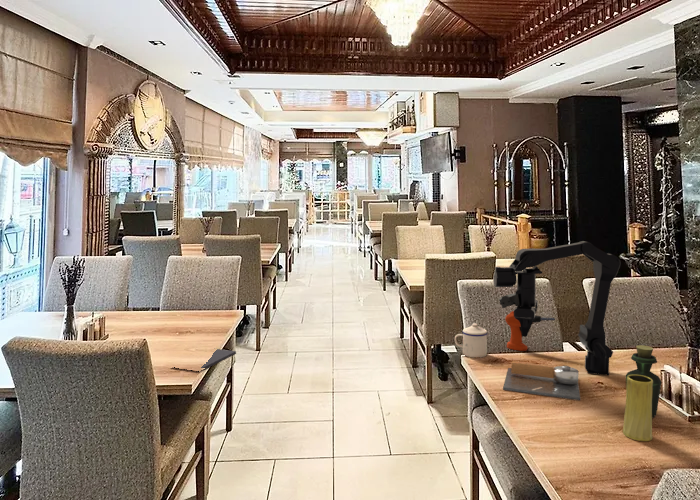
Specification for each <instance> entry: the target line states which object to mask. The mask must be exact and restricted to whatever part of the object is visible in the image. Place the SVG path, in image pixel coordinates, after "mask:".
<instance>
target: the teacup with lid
mask: <svg viewBox="0 0 700 500" xmlns="http://www.w3.org/2000/svg"><path fill="white" fill-rule="evenodd" d="M458 337H462V344H460V343H459V342H458V340H457V338H458ZM487 340H488V331H487V330H486V329H485V328H482V327H481V326H478V323H475V322H474V323H472V324H471V325H470V326H468V327H465V328H463V330H462V333H457V334H456V335H455V336H454V343H455V345H456V346H457V347H460V348H462V355H464V356H466V357H468V358H474V357H480V358H485V357H486V356H487V355H488V354H487V346H488V345H487V343H488V341H487Z"/></svg>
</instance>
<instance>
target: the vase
mask: <svg viewBox="0 0 700 500" xmlns="http://www.w3.org/2000/svg"><path fill="white" fill-rule="evenodd" d="M652 385H653V380H652V379H651V378H649V377H647V376H643V375H635V374H633V375H628V376H627V385H626V384H625V393H626V394H625V395H626V397H625V408H624V409H625V410H624V417H623V428H622V434H623V435H624V436H625V437H626V438H628V439H631V440H634V441H639V442H650V441H652V440H653V429H652V428H653V418H652Z"/></svg>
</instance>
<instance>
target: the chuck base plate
mask: <svg viewBox="0 0 700 500" xmlns="http://www.w3.org/2000/svg"><path fill="white" fill-rule="evenodd" d="M502 390H503V391H509V392H517V393H522V394H523V393H524V394H531V395H537V396H538V395H539V396H544V397H551V398H552V397H553V398H559V399H567V400H574V401H581V394H580V393H581V391H580V384H579V382H578V383H576V384H563V383H559V382H557V381H555V380H554V379H553V378H546V377H538V376H530V375H522V374H513V373H511V367H508V368H507V372H506V375H505V378H504V383H503V388H502Z"/></svg>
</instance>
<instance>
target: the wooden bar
mask: <svg viewBox="0 0 700 500" xmlns="http://www.w3.org/2000/svg"><path fill="white" fill-rule="evenodd" d="M510 368H511V373H513V374H522V375H530V376H538V377H546V378H553V379H554V380H555V381H557V382H559V383H563V384H576V383H578V384H579V370H578V369H577V368H574V367H571V366H570V365H559V366H555V365H548V364H540V363H539V364H538V363H532V362H530V363H529V362H523V361H522V362H521V361H511V366H510Z"/></svg>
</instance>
